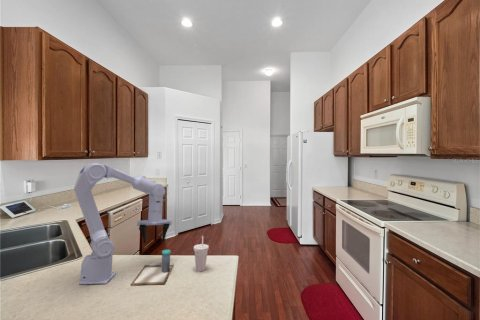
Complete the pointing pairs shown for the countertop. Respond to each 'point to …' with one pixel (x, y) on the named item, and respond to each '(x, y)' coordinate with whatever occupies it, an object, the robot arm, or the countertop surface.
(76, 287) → the countertop surface
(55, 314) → the countertop surface
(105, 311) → the countertop surface
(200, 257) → the smoothie
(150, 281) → the picture frame
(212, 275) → the countertop surface
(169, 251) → the bottle
